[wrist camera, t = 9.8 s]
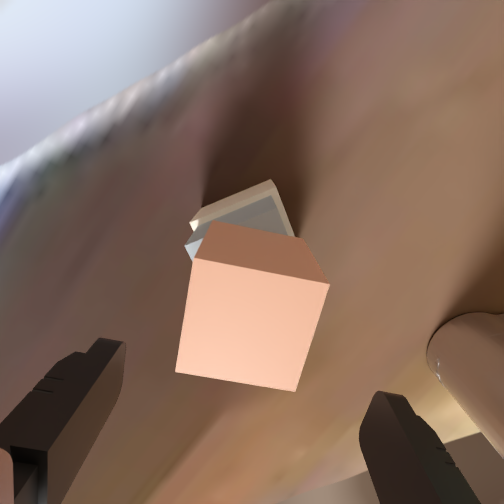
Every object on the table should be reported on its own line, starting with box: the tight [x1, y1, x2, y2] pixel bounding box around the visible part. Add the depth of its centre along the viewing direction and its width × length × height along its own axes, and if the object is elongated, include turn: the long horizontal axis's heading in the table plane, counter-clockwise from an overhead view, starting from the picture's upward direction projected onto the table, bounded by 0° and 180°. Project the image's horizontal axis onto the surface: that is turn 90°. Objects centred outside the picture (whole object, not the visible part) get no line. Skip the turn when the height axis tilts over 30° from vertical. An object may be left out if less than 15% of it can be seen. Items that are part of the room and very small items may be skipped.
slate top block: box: [185, 195, 288, 261], centre depth 21 cm, size 6×6×5 cm
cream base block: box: [190, 179, 295, 237], centre depth 27 cm, size 7×7×6 cm
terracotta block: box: [175, 220, 330, 392], centre depth 16 cm, size 6×6×6 cm
